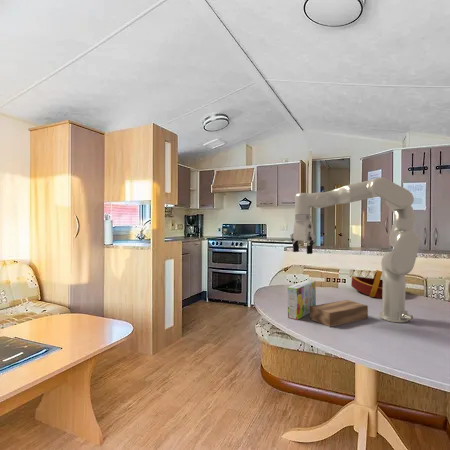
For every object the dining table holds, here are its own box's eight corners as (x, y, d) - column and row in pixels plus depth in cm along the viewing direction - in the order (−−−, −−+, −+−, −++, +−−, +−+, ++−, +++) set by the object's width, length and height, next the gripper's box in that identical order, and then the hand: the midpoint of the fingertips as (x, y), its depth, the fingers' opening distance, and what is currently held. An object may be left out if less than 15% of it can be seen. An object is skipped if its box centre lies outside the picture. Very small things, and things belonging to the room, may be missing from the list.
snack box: (306, 308, 164) (306, 279, 164) (316, 310, 160) (316, 281, 160) (286, 318, 147) (287, 286, 147) (297, 320, 144) (298, 288, 144)
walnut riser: (367, 318, 147) (367, 305, 147) (329, 326, 135) (329, 313, 135) (346, 311, 157) (347, 299, 157) (310, 319, 146) (310, 306, 145)
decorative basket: (399, 305, 177) (404, 280, 176) (345, 292, 191) (350, 268, 190) (400, 294, 206) (404, 272, 205) (353, 283, 220) (357, 262, 219)
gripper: (321, 218, 147) (321, 254, 148) (296, 218, 163) (296, 250, 163) (309, 218, 144) (309, 254, 144) (285, 218, 159) (285, 251, 159)
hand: (302, 252), depth 153 cm, fingers open, 9 cm apart
